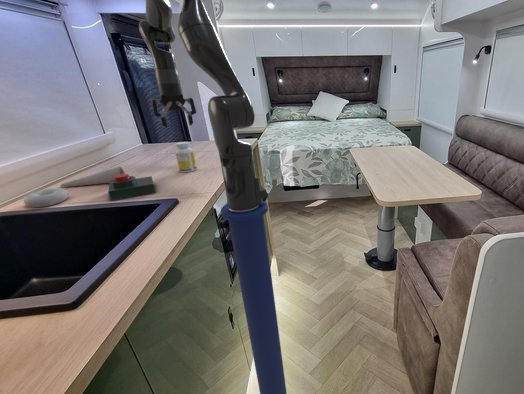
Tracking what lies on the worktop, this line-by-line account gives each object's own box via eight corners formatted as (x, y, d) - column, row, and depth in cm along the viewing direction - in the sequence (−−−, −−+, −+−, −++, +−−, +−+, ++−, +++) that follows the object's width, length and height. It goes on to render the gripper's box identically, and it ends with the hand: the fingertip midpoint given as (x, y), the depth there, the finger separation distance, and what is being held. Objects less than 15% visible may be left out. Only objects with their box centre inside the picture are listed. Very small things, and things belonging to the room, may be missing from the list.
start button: (130, 177, 99) (128, 172, 98) (130, 181, 96) (128, 176, 95) (115, 180, 96) (113, 175, 96) (115, 183, 93) (113, 178, 93)
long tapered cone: (49, 181, 97) (117, 167, 104) (57, 177, 103) (121, 165, 110) (57, 197, 99) (123, 182, 106) (65, 193, 104) (127, 179, 112)
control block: (153, 184, 106) (150, 171, 104) (155, 192, 98) (151, 178, 96) (112, 191, 99) (108, 177, 98) (111, 200, 92) (106, 186, 90)
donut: (33, 212, 85) (75, 199, 93) (27, 201, 83) (71, 189, 91) (21, 204, 89) (63, 193, 97) (16, 194, 88) (59, 184, 96)
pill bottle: (194, 167, 126) (189, 140, 121) (198, 170, 121) (193, 143, 117) (178, 170, 122) (171, 142, 118) (181, 173, 118) (174, 145, 113)
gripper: (188, 81, 115) (196, 123, 121) (145, 82, 108) (156, 126, 114) (191, 82, 109) (200, 125, 116) (146, 82, 102) (158, 129, 108)
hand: (178, 126), depth 115 cm, fingers open, 8 cm apart
